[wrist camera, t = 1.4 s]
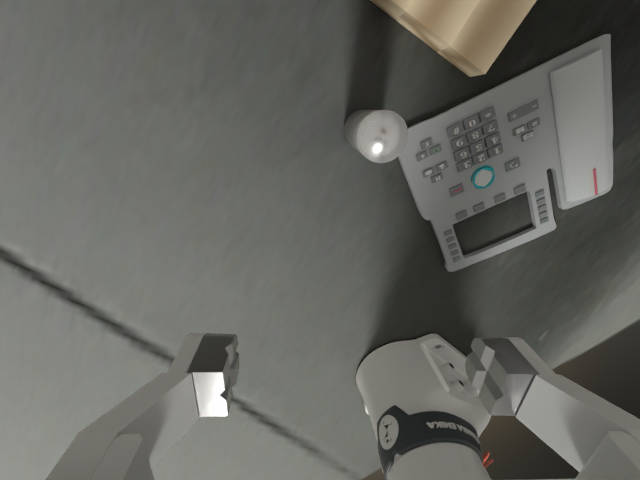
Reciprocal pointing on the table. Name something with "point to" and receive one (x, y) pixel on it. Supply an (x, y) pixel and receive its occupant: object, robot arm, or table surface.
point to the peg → (376, 134)
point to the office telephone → (516, 148)
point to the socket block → (461, 27)
